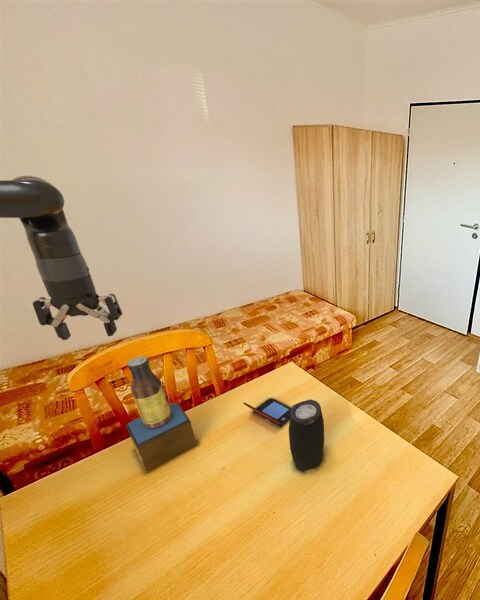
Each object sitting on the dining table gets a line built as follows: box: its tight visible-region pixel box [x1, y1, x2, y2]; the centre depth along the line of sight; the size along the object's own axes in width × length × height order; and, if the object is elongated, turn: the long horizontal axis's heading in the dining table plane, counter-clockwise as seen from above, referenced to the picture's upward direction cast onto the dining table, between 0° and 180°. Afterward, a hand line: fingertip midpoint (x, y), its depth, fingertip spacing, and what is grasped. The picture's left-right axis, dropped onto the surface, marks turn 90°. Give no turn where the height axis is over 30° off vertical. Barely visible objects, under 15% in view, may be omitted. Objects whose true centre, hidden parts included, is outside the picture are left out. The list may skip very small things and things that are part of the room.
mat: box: [127, 402, 188, 445], centre depth 87 cm, size 11×9×1 cm
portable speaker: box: [288, 398, 325, 473], centre depth 87 cm, size 9×9×20 cm
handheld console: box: [242, 397, 292, 428], centre depth 103 cm, size 12×11×7 cm
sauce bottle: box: [126, 356, 171, 428], centre depth 82 cm, size 7×6×20 cm
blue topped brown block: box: [125, 402, 197, 473], centre depth 89 cm, size 12×10×10 cm
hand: (89, 336), depth 77 cm, fingers open, 8 cm apart
